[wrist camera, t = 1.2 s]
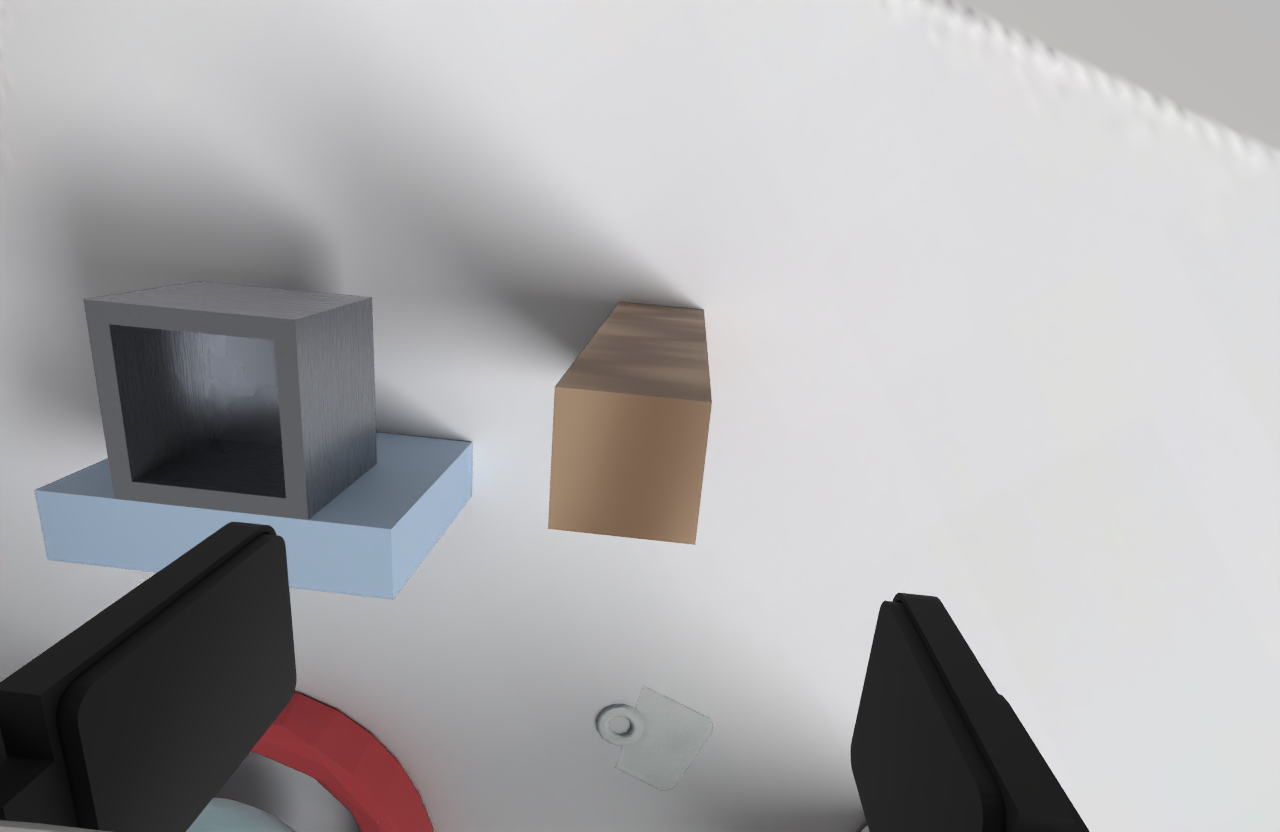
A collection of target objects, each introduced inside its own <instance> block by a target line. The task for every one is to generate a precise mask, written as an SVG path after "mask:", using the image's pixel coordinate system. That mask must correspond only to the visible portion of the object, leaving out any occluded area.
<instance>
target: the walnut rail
mask: <svg viewBox="0 0 1280 832" xmlns="http://www.w3.org/2000/svg"><path fill="white" fill-rule="evenodd" d="M711 404H712V400H711V388H710V377H709V365H708V353H707V342H706V330H705V319H704V310H700V309H689V308H679V307H668V306H657V305H646V304H635V303H625V302H619V303H618V305H617V306H616V307H615V308H614V310H613V311H612V312H611V314H610V315H609V316H608V318H607V319H606V320H605V322H604V323H603V324H602V326H601V327H600V328H599V329H598V331H597V332H596V333H595V335H594V336H593V337H592V339H591V340H590V341H589V343H588V344H587V345H586V347H585V348H584V349H583V350H582V352H581V353H580V354H579V356H578V357H577V358H576V360H575V361H574V362H573V364H572V365H571V366H570V368H569V369H568V370H567V372H566V373H565V374H564V375H563V377H562V378H561V379H560V381H559V382H558V383H557V385H556V386H555V395H554V417H553V438H552V459H551V480H550V502H549V523H548V529H556V530H565V531H574V532H584V533H593V534H602V535H611V536H620V537H630V538H639V539H648V540H657V541H666V542H676V543H685V544H694V545H695V541H696V532H697V524H698V515H699V507H700V498H701V490H702V481H703V472H704V464H705V455H706V447H707V438H708V430H709V421H710V413H711Z"/></svg>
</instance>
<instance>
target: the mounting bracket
mask: <svg viewBox="0 0 1280 832" xmlns="http://www.w3.org/2000/svg"><path fill="white" fill-rule="evenodd" d="M616 716H623V717H626V718H627V719H629V720H630V724H631V725H630V728H629V730H628V731H627V733H626V734H618V733H615V732H613V731H612V730H611V729H610V727H609V721H610V720H611V719H612V718H613V717H616ZM597 726H598V731H599V732H600V734H601V736H602V737H603V738H604V739H605V740H607V741H608V742H609V743H612V744H615V745H618V746H622V745H623V746H622V749H621V752H620V755H619V758H618V761H617V764H616V767H615V768H617V769H619V770H621V771H623V772H625V773H627V774H629V775H631V776H633V777H635V778H637V779H639V780H641V781H643V782H645V783H647V784H649V785H651V786H653V787H655V788H657V789H659V790H667V789H670V788H672V787H674V786H675V785H676V784H677V782H678V781H679V779H680V778H681V777H682V775H683V774H684V772H685V771H686V769H687V768H688V767H689V765H690V764H691V762H692V761H693V760H694V758H695V757H696V755H697V754H698V752H699V751H700V750H701V748H702V747H703V745H704V744H705V742H706V741H707V740H708V738H709V737H710V735H711V733H712V729H713V725H712V722H711V720H710V718H708V717H706V716H704V715H702V714H700V713H698V712H696V711H694V710H692V709H690V708H688V707H686V706H684V705H682V704H680V703H677V702H675V701H673V700H671V699H669V698H667V697H665V696H663V695H661V694H659V693H657V692H655V691H653V690H651V689H649V688H647V687H645V686H643V687H642V690H641V693H640V696H639V699H638V702H637V705H636V708H633V707H632V706H628V705H625V704H613V705H610V706H608V707H606V708H604V709H603V710H602V711H601V712H600V713H599V716H598V719H597Z"/></svg>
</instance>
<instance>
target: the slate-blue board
mask: <svg viewBox="0 0 1280 832" xmlns="http://www.w3.org/2000/svg"><path fill="white" fill-rule="evenodd" d="M376 443H377V464H376V465H375V466H374V467H372V468H371V469H370V470H369V471H367V472H366V473H365V474H364V475H363V476H361V477H360V478H359V479H358V480H356V481H355V482H354V483H353V484H352V485H350V486H349V487H348V488H347V489H346V490H344V491H343V492H342V493H341V494H339V495H338V496H337V497H336V498H335V499H333V500H332V501H331V502H330V503H328V504H327V505H326V506H325V507H324V508H322V509H321V510H320V511H319V512H317V513H316V514H315V515H314V516H313V517H311V518H310V519H309V520H302V519H293V518H284V517H275V516H266V515H256V514H247V513H238V512H229V511H220V510H211V509H202V508H193V507H183V506H174V505H165V504H156V503H147V502H138V501H129V500H120V499H114V492H113V486H112V479H111V473H110V466H109V460H108V458H107V459H105V460H103V461H101V462H98V463H96V464H94V465H91V466H89V467H87V468H84V469H82V470H80V471H77V472H75V473H73V474H71V475H68V476H66V477H64V478H61V479H59V480H57V481H54V482H52V483H50V484H48V485H45V486H43V487H41V488H38V489H36V490H35V495H36V500H37V506H38V511H39V516H40V521H41V527H42V532H43V537H44V543H45V548H46V553H47V558H48V560H54V561H62V562H71V563H80V564H89V565H97V566H106V567H115V568H124V569H132V570H141V571H150V572H159V571H160V570H162V569H163V568H165V567H166V566H167V565H169V564H170V563H172V562H173V561H175V560H176V559H177V558H179V557H180V556H182V555H183V554H185V553H186V552H187V551H189V550H190V549H192V548H193V547H195V546H196V545H197V544H199V543H200V542H202V541H203V540H205V539H206V538H207V537H209V536H210V535H212V534H213V533H215V532H216V531H217V530H219V529H220V528H222V527H223V526H225V525H226V524H228V523H230V522H244V523H253V524H262V525H270V526H271V527H273V528H274V530H275V532H276V535H279V536H281V537H283V539H284V541H285V545H286V556H287V569H288V581H289V588H298V589H307V590H316V591H324V592H333V593H342V594H351V595H359V596H368V597H377V598H386V599H394V597H395V596H396V595H397V594H398V592H399V591H400V590H401V588H402V587H403V586H404V584H405V583H406V582H407V580H408V579H409V578H410V576H411V575H412V574H413V573H414V571H415V570H416V569H417V567H418V566H419V565H420V563H421V562H422V561H423V559H424V558H425V557H426V555H427V554H428V553H429V551H430V550H431V549H432V548H433V546H434V545H435V544H436V542H437V541H438V540H439V538H440V537H441V536H442V534H443V533H444V532H445V530H446V529H447V528H448V526H449V525H450V524H451V523H452V521H453V520H454V519H455V517H456V516H457V515H458V513H459V512H460V511H461V509H462V508H463V507H464V505H465V504H466V503H467V502H468V500H469V499H470V498H471V496H472V442H466V441H456V440H446V439H437V438H427V437H417V436H408V435H398V434H388V433H379V432H376Z"/></svg>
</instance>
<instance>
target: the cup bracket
mask: <svg viewBox="0 0 1280 832" xmlns="http://www.w3.org/2000/svg"><path fill="white" fill-rule="evenodd" d="M84 304H85V311H86V317H87V324H88V330H89V337H90V343H91V350H92V356H93V363H94V369H95V376H96V382H97V388H98V395H99V401H100V408H101V414H102V421H103V427H104V434H105V440H106V447H107V453H108V460H109V466H110V473H111V479H112V486H113V492H114V499H120V500H129V501H138V502H147V503H156V504H165V505H174V506H183V507H193V508H202V509H211V510H220V511H229V512H238V513H247V514H256V515H266V516H275V517H284V518H293V519H302V520H309V519H310V518H311V517H313V516H314V515H315V514H316V513H317V512H319V511H320V510H321V509H322V508H324V507H325V506H326V505H327V504H328V503H330V502H331V501H332V500H333V499H335V498H336V497H337V496H338V495H339V494H341V493H342V492H343V491H344V490H346V489H347V488H348V487H349V486H350V485H352V484H353V483H354V482H355V481H356V480H358V479H359V478H360V477H361V476H363V475H364V474H365V473H366V472H367V471H369V470H370V469H371V468H372V467H374V466H375V465H376V464H377V443H376V412H375V380H374V349H373V318H372V297H362V296H352V295H341V294H330V293H320V292H309V291H299V290H288V289H277V288H267V287H256V286H245V285H235V284H224V283H213V282H203V281H198V282H192V283H185V284H179V285H173V286H166V287H160V288H154V289H147V290H141V291H134V292H128V293H122V294H115V295H109V296H103V297H96V298H90V299H84Z"/></svg>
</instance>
